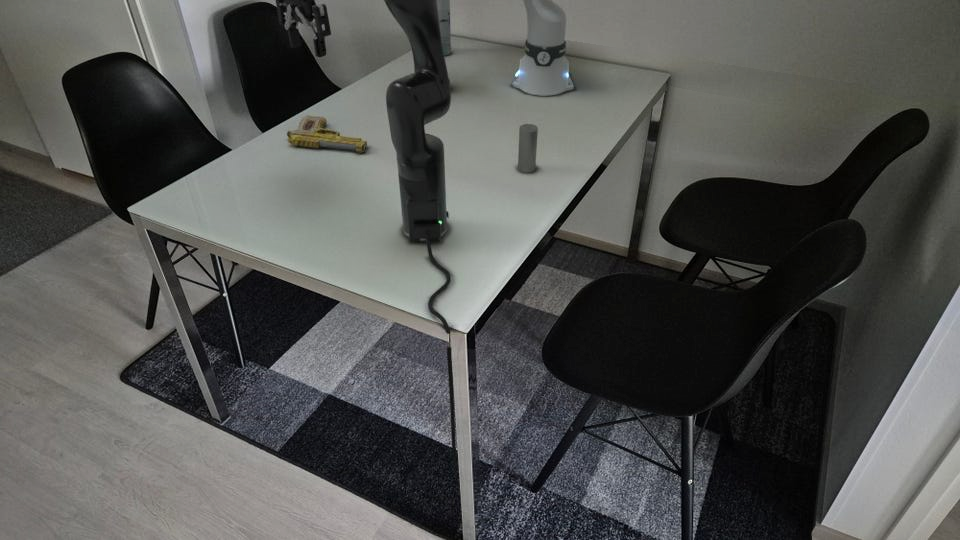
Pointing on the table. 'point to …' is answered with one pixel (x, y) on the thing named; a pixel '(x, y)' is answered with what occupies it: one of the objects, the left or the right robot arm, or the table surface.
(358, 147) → the handgun
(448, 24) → the spray paint can
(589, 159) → the table surface
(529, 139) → the can
